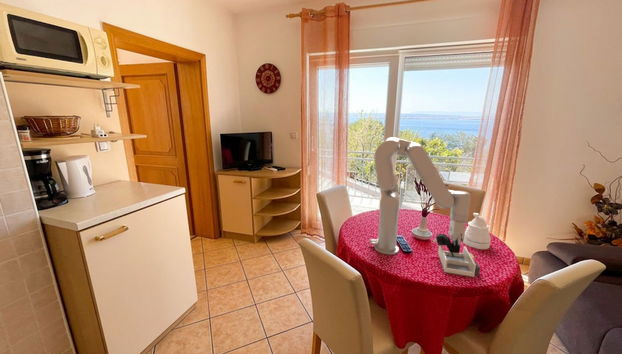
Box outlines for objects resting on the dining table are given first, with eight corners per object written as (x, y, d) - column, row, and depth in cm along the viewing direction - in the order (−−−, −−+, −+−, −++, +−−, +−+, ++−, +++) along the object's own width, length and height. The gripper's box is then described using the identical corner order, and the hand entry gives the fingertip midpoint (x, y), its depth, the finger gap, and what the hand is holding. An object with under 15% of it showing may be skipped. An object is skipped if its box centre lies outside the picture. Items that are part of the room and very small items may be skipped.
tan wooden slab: (470, 265, 120) (471, 257, 119) (467, 260, 124) (468, 252, 124) (473, 265, 119) (474, 258, 119) (470, 260, 124) (471, 253, 123)
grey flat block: (475, 275, 112) (477, 267, 111) (472, 269, 116) (473, 261, 116) (478, 275, 111) (480, 267, 111) (475, 269, 116) (476, 262, 115)
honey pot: (463, 246, 139) (467, 215, 135) (462, 237, 150) (465, 209, 146) (491, 251, 133) (496, 220, 129) (487, 241, 144) (492, 212, 140)
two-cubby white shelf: (444, 272, 114) (446, 260, 113) (438, 253, 130) (439, 243, 129) (473, 277, 110) (475, 264, 109) (463, 257, 127) (465, 246, 125)
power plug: (453, 259, 121) (445, 236, 121) (437, 259, 127) (429, 237, 127) (456, 254, 125) (448, 231, 125) (441, 254, 130) (433, 232, 131)
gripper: (447, 210, 128) (443, 243, 132) (453, 221, 113) (449, 258, 117) (463, 211, 126) (459, 245, 129) (472, 223, 111) (468, 260, 115)
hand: (455, 251), depth 123 cm, fingers closed on power plug
